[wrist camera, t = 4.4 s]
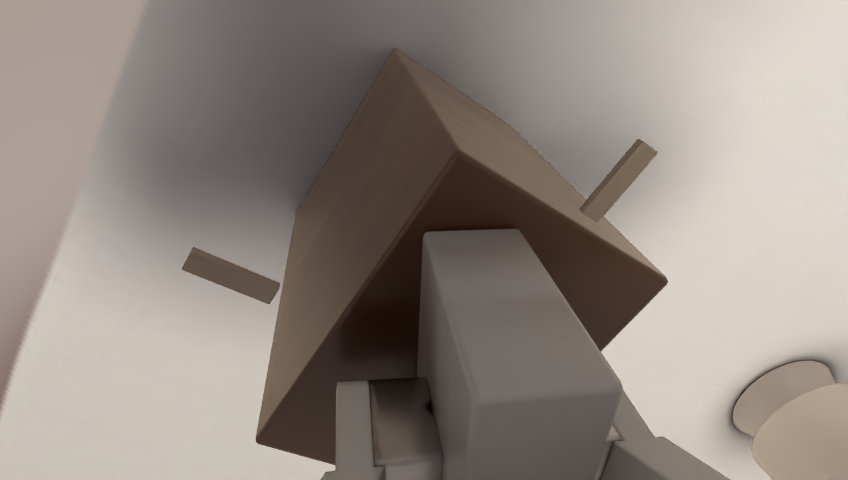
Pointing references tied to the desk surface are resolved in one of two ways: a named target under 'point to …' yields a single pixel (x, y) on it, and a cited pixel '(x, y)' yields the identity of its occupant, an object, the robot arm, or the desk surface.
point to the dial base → (420, 245)
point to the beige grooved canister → (797, 422)
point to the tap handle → (508, 363)
